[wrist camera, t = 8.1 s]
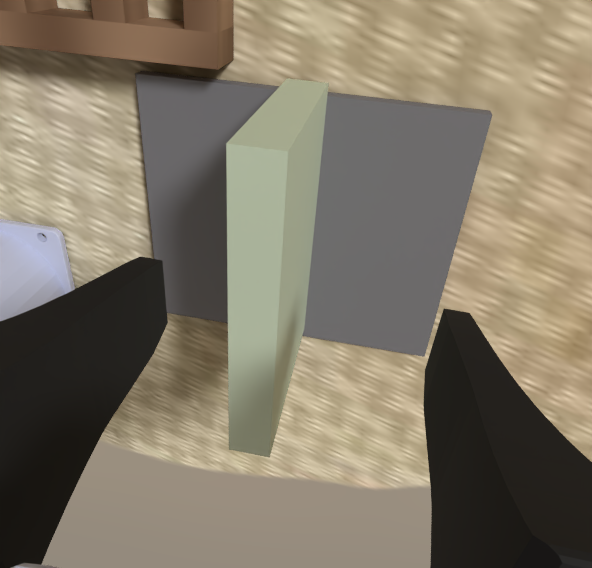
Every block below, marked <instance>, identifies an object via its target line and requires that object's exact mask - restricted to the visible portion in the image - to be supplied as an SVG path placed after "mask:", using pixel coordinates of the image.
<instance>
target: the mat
mask: <svg viewBox="0 0 592 568" xmlns="http://www.w3.org/2000/svg"><path fill="white" fill-rule="evenodd" d="M135 75H136V85H137V95H138V105H139V114H140V124H141V134H142V144H143V153H144V163H145V173H146V182H147V192H148V202H149V212H150V221H151V231H152V241H153V251H154V259H157V260H162V261H163V273H164V285H165V297H166V309H167V313H172V314H177V315H183V316H189V317H195V318H201V319H207V320H213V321H218V322H224V323H228V284H227V169H226V143H227V142H228V141H229V140H230V139H231V138H232V137H233V136H234V135H235V134H236V133H237V131H238V130H239V129H240V128H241V127H242V126H243V125H244V124H245V123H246V122H247V121H248V120H249V119H250V118H251V117H252V115H253V114H254V113H255V112H256V111H257V110H258V109H259V108H260V107H261V106H262V105H263V104H264V103H265V102H266V101H267V100H268V98H269V97H270V96H271V95H272V94H273V93H274V92H275V91H276V90H277V89H278V88H279V86H270V85H262V84H253V83H244V82H236V81H227V80H218V79H210V78H201V77H192V76H184V75H175V74H166V73H158V72H149V71H140V72H138V73H135ZM491 118H492V114H491V112H490V111H488V110H479V109H470V108H461V107H453V106H444V105H435V104H427V103H418V102H409V101H401V100H392V99H383V98H375V97H366V96H357V95H349V94H340V93H331V92H328V94H327V104H326V114H325V125H324V135H323V145H322V155H321V165H320V175H319V185H318V195H317V205H316V215H315V225H314V235H313V245H312V255H311V265H310V275H309V285H308V295H307V306H306V316H305V326H304V331H303V335H302V336H307V337H312V338H318V339H324V340H330V341H336V342H342V343H348V344H354V345H359V346H365V347H371V348H377V349H383V350H389V351H395V352H401V353H406V354H412V355H418V356H425V353H426V349H427V346H428V342H429V338H430V335H431V331H432V328H433V324H434V321H435V317H436V313H437V310H438V306H439V303H440V299H441V296H442V292H443V289H444V285H445V281H446V278H447V274H448V271H449V267H450V264H451V260H452V257H453V253H454V249H455V246H456V242H457V239H458V235H459V232H460V228H461V224H462V221H463V217H464V214H465V210H466V207H467V203H468V200H469V196H470V192H471V189H472V185H473V182H474V178H475V175H476V171H477V167H478V164H479V160H480V157H481V153H482V150H483V146H484V143H485V139H486V135H487V132H488V128H489V125H490V121H491Z"/></svg>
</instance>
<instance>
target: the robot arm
mask: <svg viewBox="0 0 592 568" xmlns="http://www.w3.org/2000/svg"><path fill="white" fill-rule="evenodd" d="M42 234H44V235H45V236H46V238H45V237H44V236H43V235H42ZM167 323H168V321H167V309H166V297H165V285H164V273H163V261H162V260H157V259H151V258H145V257H138V258H136V259H134V260H132V261H129V262H127V263H125V264H123V265H121V266H119V267H118V268H116V269H114V270H112V271H110V272H108V273H106V274H104V275H102V276H100V277H98V278H96V279H94V280H92V281H91V282H89V283H87V284H85V285H83V286H81V287H79V288H77V289H75V286H74V282H73V277H72V272H71V268H70V263H69V258H68V254H67V249H66V244H65V239H64V236H63V234H62V232H61V231H60V230H58V229H57V228H54V227H49V226H42V225H36V224H29V223H23V222H16V221H10V220H4V219H0V568H57V567H53V566H48V565H41V564H42V561H43V559H44V556H45V554H46V552H47V549H48V547H49V544H50V542H51V540H52V537H53V535H54V533H55V531H56V528H57V526H58V524H59V522H60V519H61V517H62V515H63V513H64V510H65V508H66V506H67V503H68V501H69V499H70V497H71V495H72V493H73V491H74V489H75V487H76V484H77V482H78V480H79V478H80V476H81V474H82V472H83V470H84V468H85V466H86V464H87V462H88V460H89V458H90V456H91V454H92V452H93V450H94V448H95V446H96V444H97V442H98V440H99V439H100V437H101V435H102V433H103V431H104V430H105V428H106V426H107V425H108V423H109V421H110V420H111V418H112V416H113V415H114V413H115V412H116V410H117V409H118V407H119V406H120V404H121V403H122V401H123V400H124V398H125V397H126V395H127V394H128V392H129V391H130V389H131V388H132V386H133V385H134V383H135V381H136V380H137V378H138V377H139V375H140V374H141V372H142V371H143V369H144V368H145V366H146V364H147V363H148V361H149V360H150V358H151V357H152V355H153V353H154V351H155V349H156V347H157V345H158V343H159V341H160V339H161V336H162V334H163V332H164V330H165V327H166V325H167ZM424 417H425V428H426V439H427V450H428V461H429V472H430V483H431V499H432V525H431V526H432V527H431V568H592V462H591V461H590V460H589V459H587V458H586V457H585V456H584V455H583V454H582V453H581V452H580V451H579V450H578V449H576V448H575V447H574V446H573V445H572V444H571V443H570V442H569V441H568V440H567V439H566V438H565V437H564V436H563V435H562V434H561V433H560V432H559V431H558V430H557V429H556V427H555V426H554V425H553V424H552V423H551V422H550V421H549V420H548V419H547V418H546V417H545V416H544V415H543V414H542V413H541V411H540V410H539V409H538V408H537V407H536V406H535V405H534V403H533V402H532V401H531V400H530V398H529V397H528V396H527V395H526V394H525V392H524V391H523V390H522V389H521V387H520V386H519V385H518V384H517V382H516V381H515V380H514V378H513V377H512V376H511V374H510V373H509V372H508V370H507V369H506V367H505V366H504V365H503V363H502V362H501V360H500V359H499V357H498V356H497V354H496V353H495V352H494V350H493V348H492V347H491V345H490V344H489V342H488V341H487V339H486V338H485V336H484V335H483V333H482V332H481V330H480V328H479V327H478V325H477V324H476V322H475V321H474V319H473V318H472V316H471V315H470V313H466V312H460V311H455V310H449V309H444V310H443V313H442V316H441V320H440V323H439V326H438V330H437V333H436V336H435V340H434V343H433V346H432V349H431V353H430V356H429V359H428V363H427V366H426V369H425V384H424Z"/></svg>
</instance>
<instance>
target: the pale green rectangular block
mask: <svg viewBox="0 0 592 568" xmlns="http://www.w3.org/2000/svg"><path fill="white" fill-rule="evenodd" d="M328 84H329V83H324V82H315V81H306V80H297V79H288V78H287V79H286V80H285V81H284V82H283V84H282V85H281V86H280V87H279V88H278V89H277V90H276V91H275V92H274V93H273V94H272V95H271V96H270V97H269V98H268V100H267V101H266V102H265V103H264V104H263V105H262V106H261V107H260V108H259V109H258V110H257V111H256V112H255V113H254V114H253V115H252V117H251V118H250V119H249V120H248V121H247V122H246V123H245V124H244V125H243V126H242V127H241V128H240V129H239V130H238V131H237V133H236V134H235V135H234V136H233V137H232V138H231V139H230V140H229V141H228V142H227V143H226V169H227V284H228V399H229V449H230V450H235V451H240V452H245V453H250V454H255V455H260V456H265V457H270V453H271V450H272V446H273V442H274V439H275V435H276V431H277V428H278V424H279V420H280V416H281V413H282V409H283V405H284V402H285V398H286V394H287V391H288V387H289V383H290V379H291V376H292V372H293V368H294V365H295V361H296V357H297V354H298V350H299V346H300V343H301V339H302V335H303V331H304V326H305V316H306V306H307V295H308V285H309V275H310V265H311V255H312V245H313V235H314V225H315V215H316V205H317V195H318V185H319V175H320V165H321V155H322V145H323V135H324V125H325V114H326V104H327V94H328Z"/></svg>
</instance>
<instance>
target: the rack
mask: <svg viewBox="0 0 592 568" xmlns="http://www.w3.org/2000/svg"><path fill="white" fill-rule="evenodd" d="M91 5H92V12H91V11H81V10H72V9H62V8H58V6H57V1H56V0H0V45H4V46H13V47H22V48H31V49H40V50H48V51H57V52H66V53H75V54H84V55H93V56H102V57H110V58H119V59H128V60H137V61H146V62H155V63H164V64H172V65H181V66H190V67H199V68H208V69H217V70H218V69H220V68H221V67H223V66H224V65H226V64H228V63H229V62H231V61H232V60H233V0H183V13H184V21H179V20H169V19H159V18H150V17H149V15H148V3H147V0H91Z"/></svg>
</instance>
